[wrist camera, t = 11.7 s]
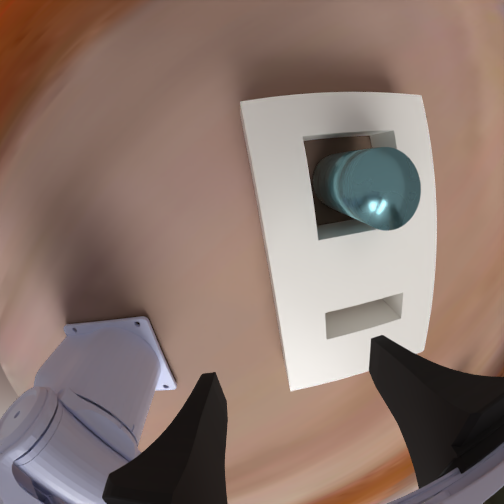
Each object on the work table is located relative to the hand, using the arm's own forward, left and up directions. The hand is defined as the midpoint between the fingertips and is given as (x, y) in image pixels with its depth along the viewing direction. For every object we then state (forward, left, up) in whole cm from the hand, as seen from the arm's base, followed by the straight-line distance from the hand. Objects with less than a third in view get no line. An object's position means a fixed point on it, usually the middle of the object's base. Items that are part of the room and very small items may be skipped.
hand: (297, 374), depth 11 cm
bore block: (+6, +3, -9) cm, 11 cm away
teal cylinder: (+6, +7, -9) cm, 13 cm away
